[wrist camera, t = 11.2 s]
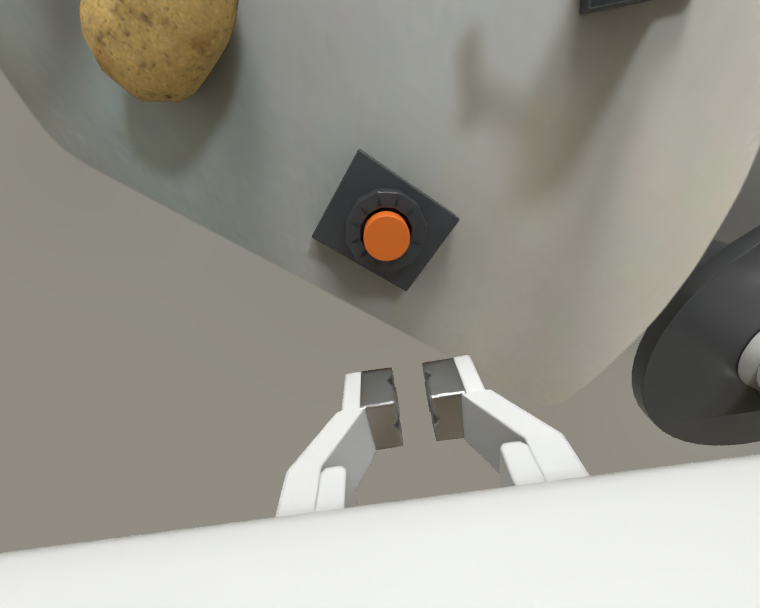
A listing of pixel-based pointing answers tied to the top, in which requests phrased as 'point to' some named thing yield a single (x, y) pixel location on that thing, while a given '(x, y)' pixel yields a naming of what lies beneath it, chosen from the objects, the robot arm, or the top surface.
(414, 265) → the block
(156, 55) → the potato
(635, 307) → the top surface
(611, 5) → the lever bracket
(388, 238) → the button
